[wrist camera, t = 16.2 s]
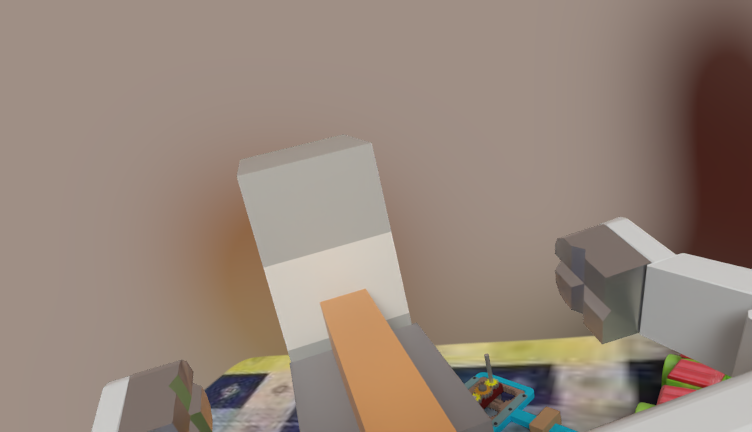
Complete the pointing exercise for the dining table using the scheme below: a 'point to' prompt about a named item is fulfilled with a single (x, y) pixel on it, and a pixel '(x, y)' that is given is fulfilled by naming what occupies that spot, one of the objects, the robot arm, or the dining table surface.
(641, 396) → the dining table surface
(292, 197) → the tall tower
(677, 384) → the toy crocodile
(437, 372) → the grey box
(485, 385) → the gear mechanism
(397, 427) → the orange block
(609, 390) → the dining table surface
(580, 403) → the dining table surface
